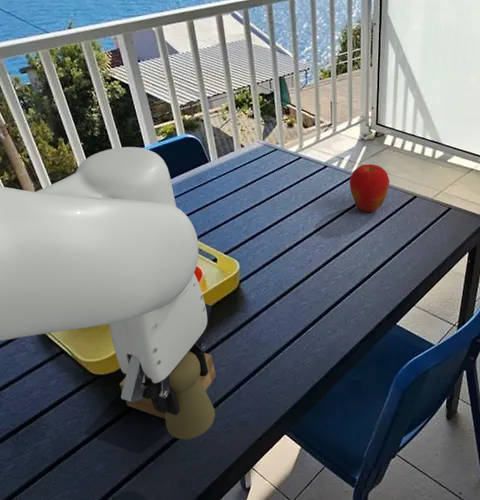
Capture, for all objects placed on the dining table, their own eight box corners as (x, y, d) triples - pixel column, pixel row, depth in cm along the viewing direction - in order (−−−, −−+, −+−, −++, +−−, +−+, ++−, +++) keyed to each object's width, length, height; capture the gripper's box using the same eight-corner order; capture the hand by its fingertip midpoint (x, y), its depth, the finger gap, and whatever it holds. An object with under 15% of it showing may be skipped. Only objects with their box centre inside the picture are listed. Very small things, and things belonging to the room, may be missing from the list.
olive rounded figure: (209, 391, 67) (195, 334, 60) (220, 428, 62) (206, 371, 56) (162, 407, 64) (142, 350, 58) (170, 446, 60) (150, 389, 53)
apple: (388, 201, 124) (392, 157, 117) (385, 220, 117) (389, 174, 110) (351, 197, 125) (353, 153, 118) (346, 216, 118) (347, 170, 111)
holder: (181, 424, 72) (175, 403, 69) (127, 405, 74) (119, 384, 72) (216, 376, 79) (211, 354, 76) (165, 360, 82) (159, 339, 79)
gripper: (169, 221, 57) (195, 333, 67) (51, 321, 43) (107, 440, 54) (228, 234, 55) (245, 348, 65) (122, 343, 42) (165, 462, 52)
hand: (182, 389), depth 60 cm, fingers closed on olive rounded figure, 5 cm apart
